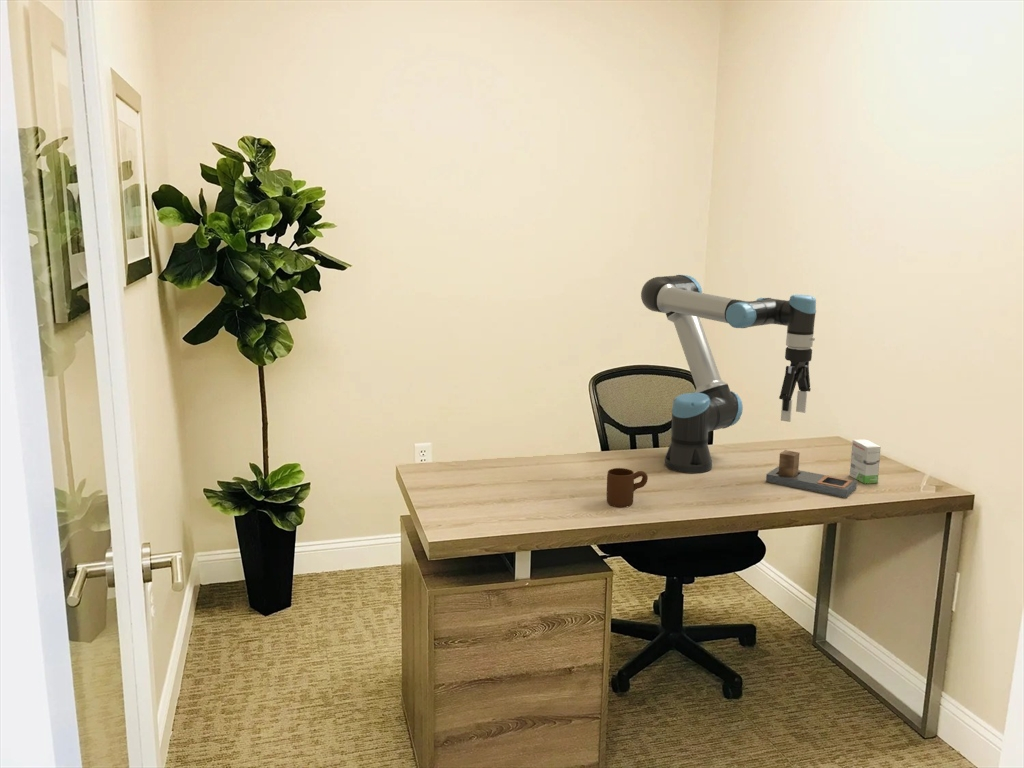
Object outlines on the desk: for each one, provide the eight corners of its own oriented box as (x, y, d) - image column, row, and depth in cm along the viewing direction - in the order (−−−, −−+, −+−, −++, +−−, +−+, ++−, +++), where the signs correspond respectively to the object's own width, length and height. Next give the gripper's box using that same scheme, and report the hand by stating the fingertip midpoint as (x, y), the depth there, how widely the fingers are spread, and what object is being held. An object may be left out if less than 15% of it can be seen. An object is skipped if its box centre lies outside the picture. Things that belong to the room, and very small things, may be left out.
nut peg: (777, 481, 262) (779, 453, 260) (783, 477, 265) (785, 450, 263) (792, 484, 259) (794, 456, 257) (797, 480, 262) (799, 452, 261)
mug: (641, 496, 248) (642, 465, 246) (651, 505, 241) (653, 473, 239) (602, 500, 245) (603, 468, 243) (611, 509, 238) (612, 476, 236)
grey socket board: (765, 481, 261) (766, 473, 261) (777, 473, 269) (778, 465, 268) (846, 498, 247) (847, 489, 246) (856, 489, 255) (857, 480, 254)
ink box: (878, 483, 260) (882, 446, 258) (863, 484, 259) (866, 446, 257) (863, 474, 268) (866, 438, 266) (848, 475, 268) (851, 439, 265)
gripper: (797, 354, 241) (791, 427, 246) (824, 343, 261) (818, 410, 266) (771, 351, 246) (766, 422, 250) (800, 340, 265) (794, 406, 270)
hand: (793, 416), depth 258 cm, fingers open, 13 cm apart
